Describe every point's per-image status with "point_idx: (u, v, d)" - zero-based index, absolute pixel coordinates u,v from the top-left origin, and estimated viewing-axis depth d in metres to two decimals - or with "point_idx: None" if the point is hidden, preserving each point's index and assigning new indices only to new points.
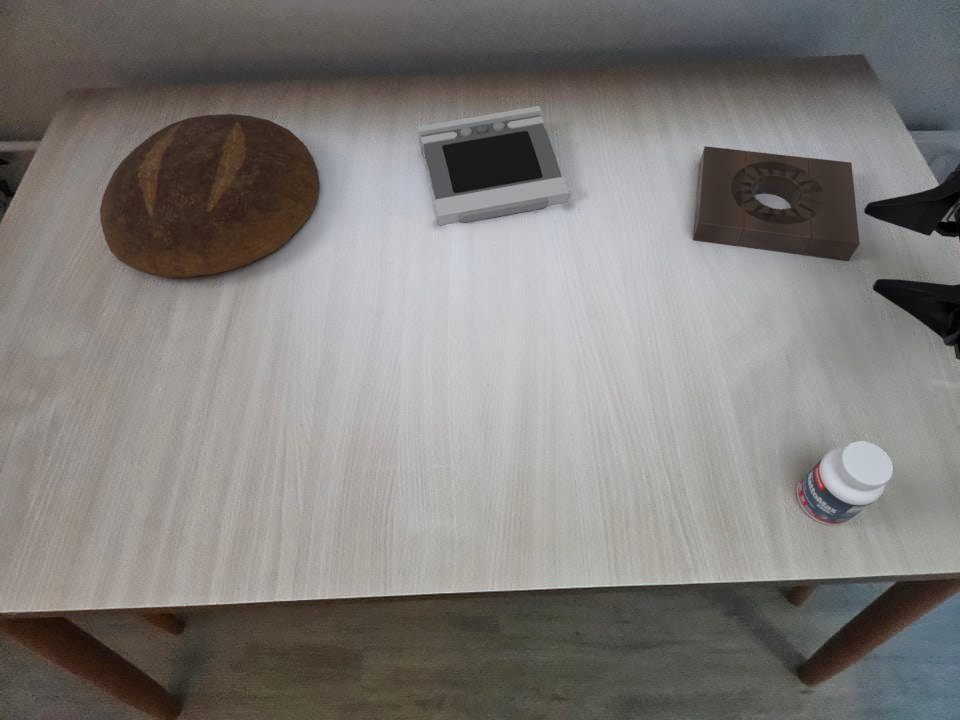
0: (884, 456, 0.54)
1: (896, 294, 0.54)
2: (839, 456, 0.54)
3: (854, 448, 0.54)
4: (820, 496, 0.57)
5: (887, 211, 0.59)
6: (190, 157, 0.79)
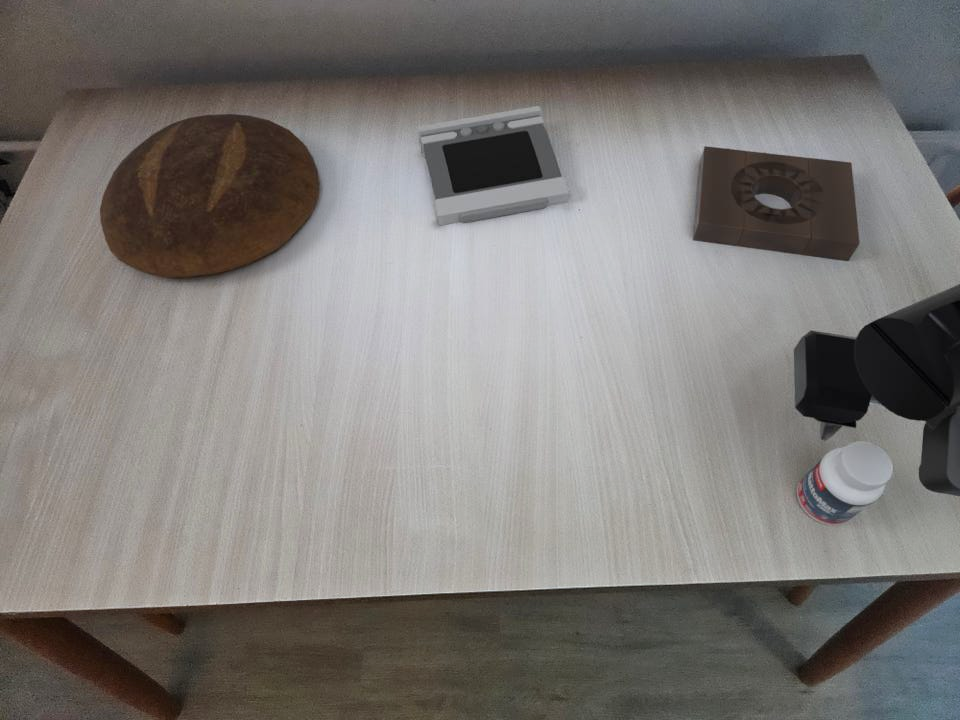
0: (884, 456, 0.54)
1: None
2: (839, 456, 0.54)
3: (854, 448, 0.54)
4: (820, 496, 0.57)
5: None
6: (190, 157, 0.79)
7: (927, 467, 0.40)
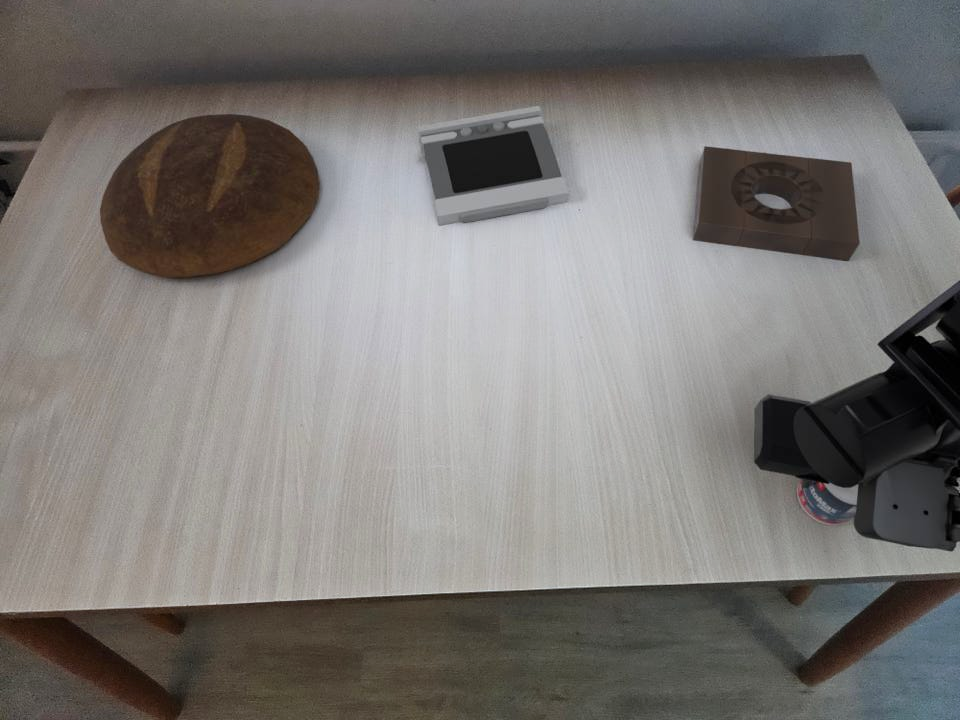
0: None
1: None
2: None
3: None
4: (820, 496, 0.57)
5: None
6: (190, 157, 0.79)
7: (860, 517, 0.48)
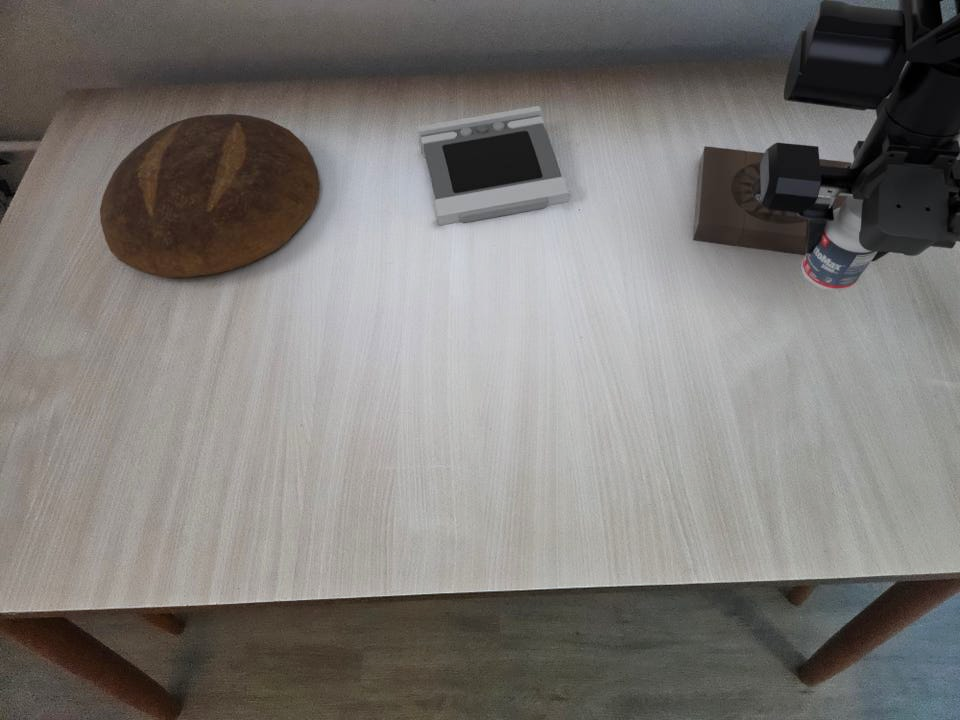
0: None
1: None
2: (842, 205, 0.56)
3: None
4: (824, 254, 0.59)
5: None
6: (190, 157, 0.79)
7: (864, 229, 0.50)
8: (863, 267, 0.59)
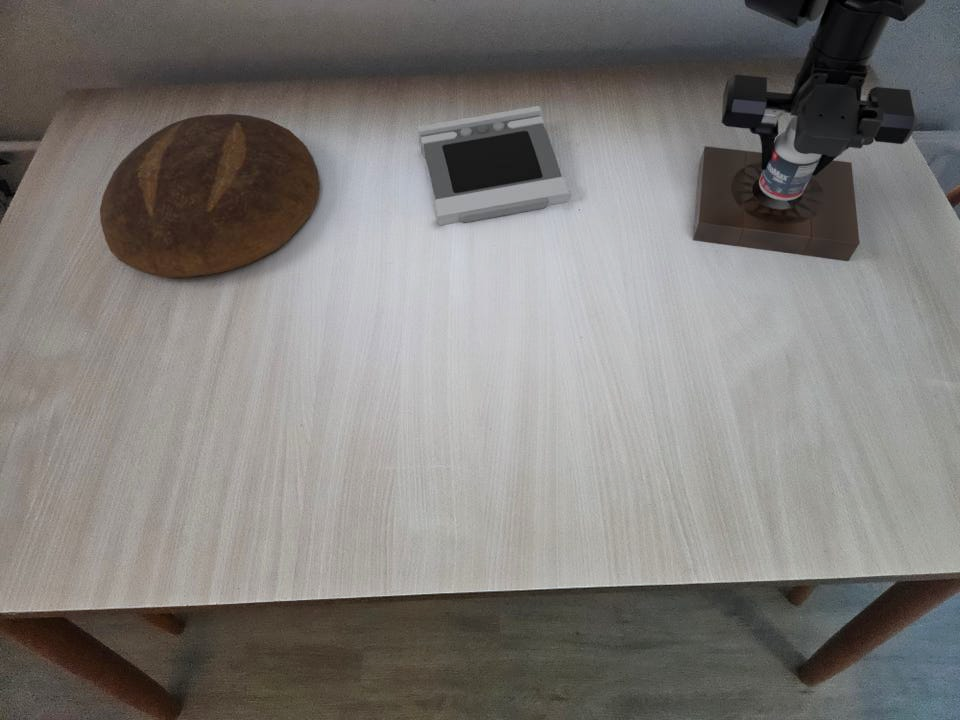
0: None
1: None
2: None
3: None
4: (774, 167, 0.74)
5: None
6: (190, 157, 0.79)
7: (797, 135, 0.65)
8: (805, 178, 0.74)
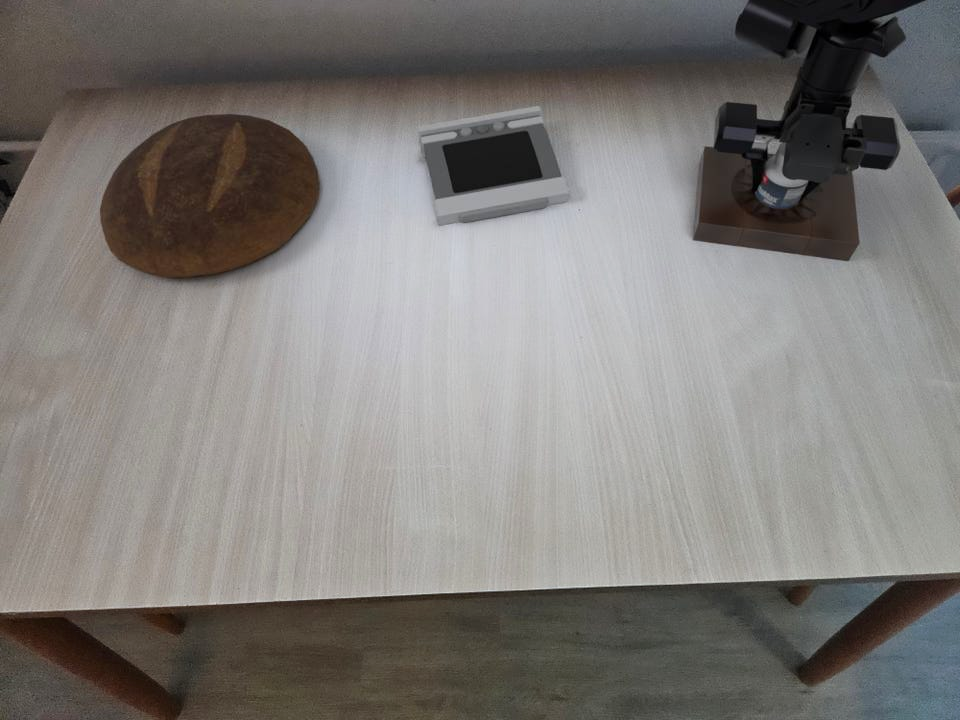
0: None
1: None
2: (777, 150, 0.74)
3: None
4: (765, 190, 0.77)
5: None
6: (190, 157, 0.79)
7: (785, 162, 0.68)
8: (794, 200, 0.77)
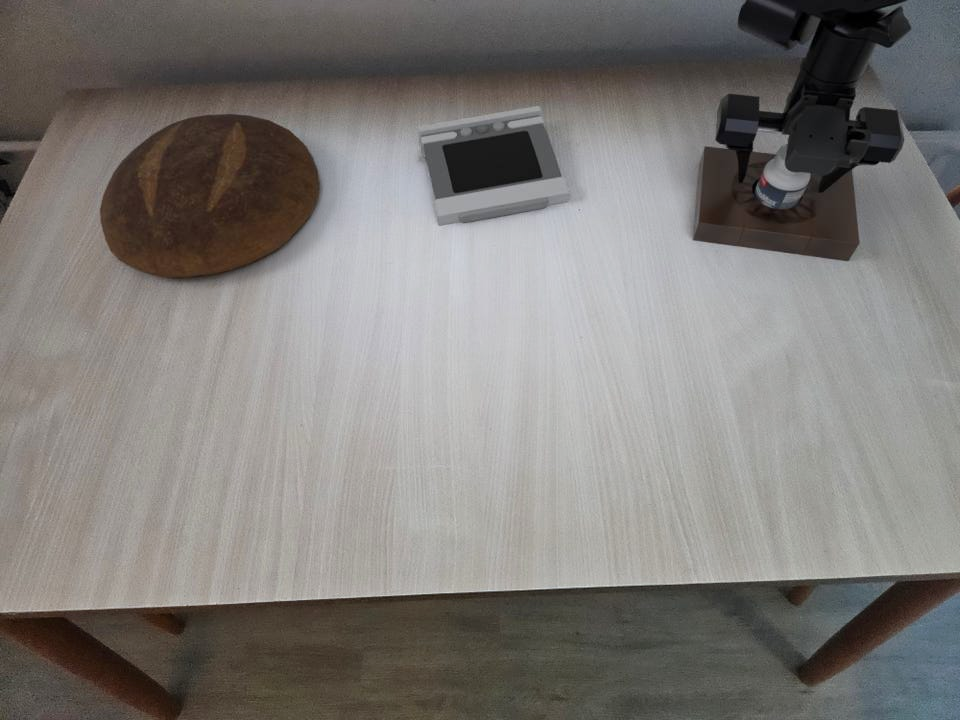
0: None
1: None
2: (776, 154, 0.75)
3: None
4: (763, 193, 0.77)
5: None
6: (190, 157, 0.79)
7: (788, 154, 0.67)
8: (793, 204, 0.77)
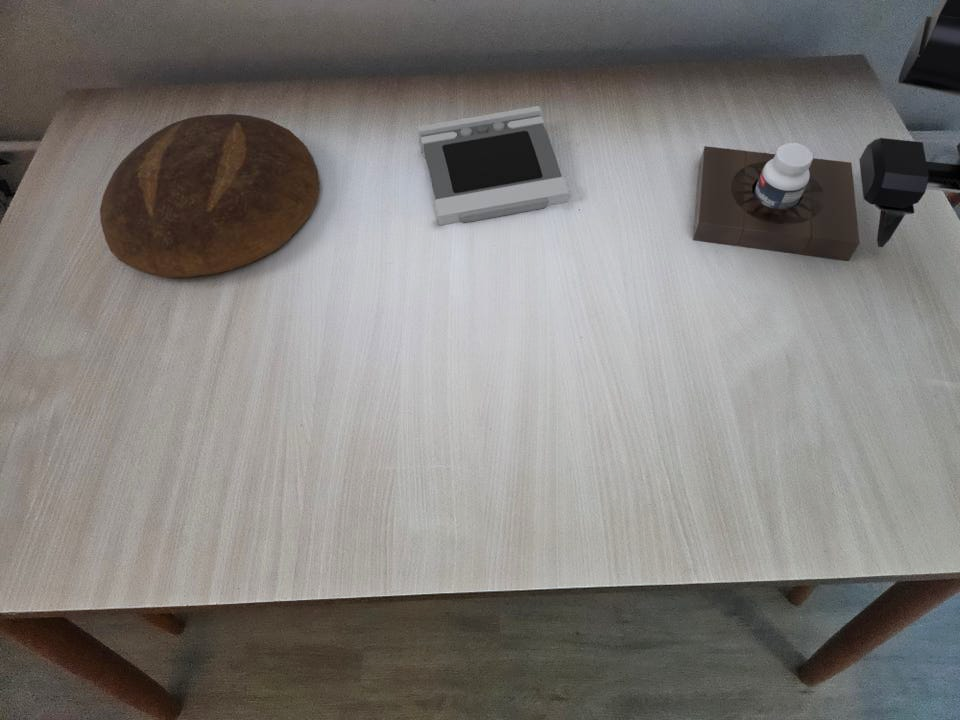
0: (807, 150, 0.74)
1: None
2: (775, 154, 0.75)
3: (786, 146, 0.74)
4: (763, 193, 0.77)
5: None
6: (190, 157, 0.79)
7: None
8: (792, 203, 0.77)
